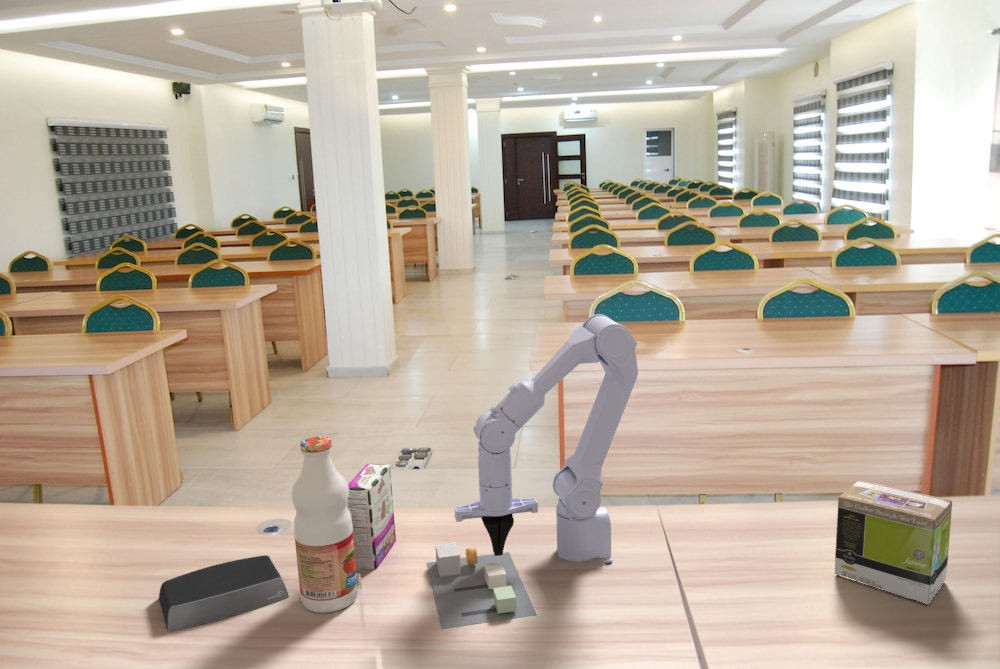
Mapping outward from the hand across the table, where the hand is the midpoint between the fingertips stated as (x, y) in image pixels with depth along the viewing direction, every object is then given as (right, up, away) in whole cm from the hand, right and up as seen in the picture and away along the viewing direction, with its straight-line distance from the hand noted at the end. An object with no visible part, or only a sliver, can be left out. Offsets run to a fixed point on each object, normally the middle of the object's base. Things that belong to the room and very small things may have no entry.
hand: (497, 553), depth 143 cm
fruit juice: (-28, -6, -8) cm, 30 cm away
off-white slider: (0, -3, -7) cm, 8 cm away
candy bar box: (-23, -3, +5) cm, 23 cm away
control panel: (-3, -5, -7) cm, 9 cm away
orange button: (-4, -2, 0) cm, 4 cm away
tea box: (+66, -3, -8) cm, 66 cm away
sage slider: (+1, -5, -14) cm, 15 cm away
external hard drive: (-46, -7, -6) cm, 47 cm away
